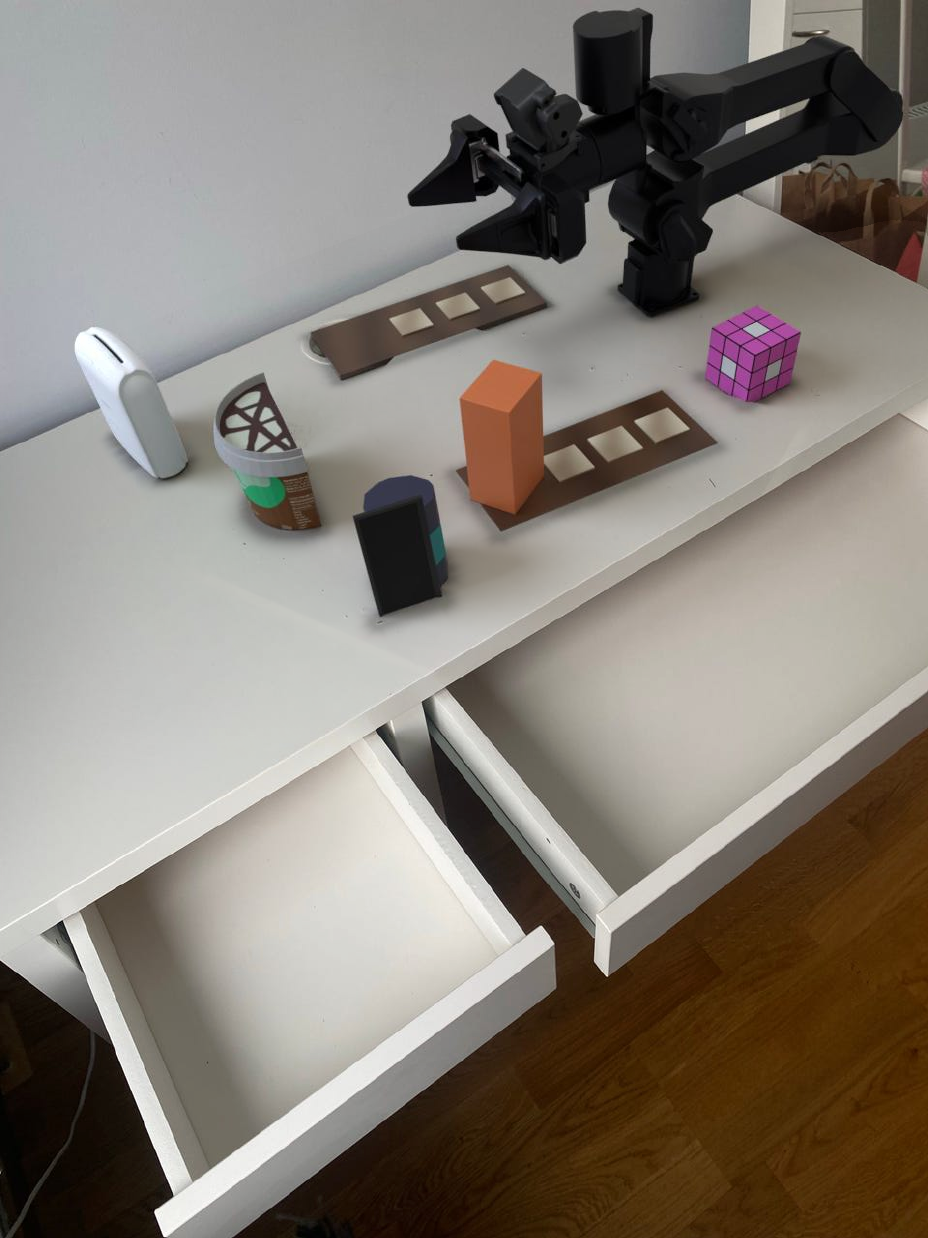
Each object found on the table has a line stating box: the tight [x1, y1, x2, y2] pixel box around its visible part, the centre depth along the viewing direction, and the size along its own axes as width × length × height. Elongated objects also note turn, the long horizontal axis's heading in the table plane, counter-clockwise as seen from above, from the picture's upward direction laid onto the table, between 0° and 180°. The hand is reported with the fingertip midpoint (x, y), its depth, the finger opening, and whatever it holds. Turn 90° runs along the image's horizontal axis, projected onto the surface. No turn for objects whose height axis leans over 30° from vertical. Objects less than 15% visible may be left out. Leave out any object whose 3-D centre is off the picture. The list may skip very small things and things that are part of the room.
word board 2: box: [455, 389, 719, 532], centre depth 85 cm, size 22×9×1 cm, turn 116°
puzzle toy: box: [704, 305, 802, 403], centre depth 88 cm, size 6×6×6 cm
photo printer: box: [74, 326, 189, 479], centre depth 87 cm, size 10×4×12 cm, turn 39°
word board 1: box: [310, 264, 548, 381], centre depth 101 cm, size 24×9×1 cm, turn 116°
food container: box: [213, 371, 322, 532], centre depth 81 cm, size 12×6×10 cm, turn 23°
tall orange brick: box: [459, 359, 544, 515], centre depth 79 cm, size 6×4×11 cm
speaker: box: [352, 474, 449, 618], centre depth 74 cm, size 8×6×10 cm
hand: (432, 221), depth 82 cm, fingers open, 9 cm apart
